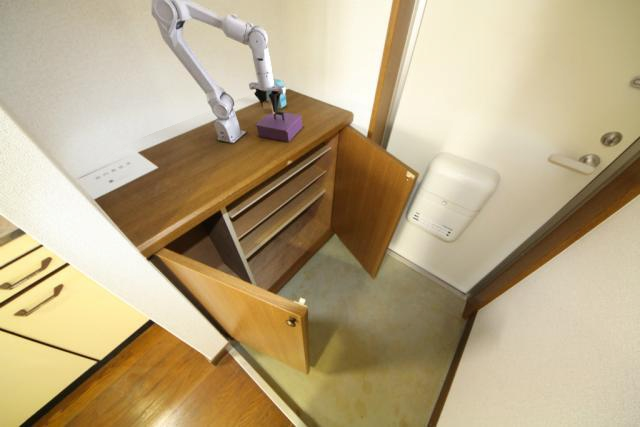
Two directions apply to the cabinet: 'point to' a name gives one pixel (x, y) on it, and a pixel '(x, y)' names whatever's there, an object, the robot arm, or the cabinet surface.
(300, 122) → the purple flat box
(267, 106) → the block
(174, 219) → the cabinet surface
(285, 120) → the lid
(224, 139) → the robot arm
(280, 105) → the teal flat upright piece
